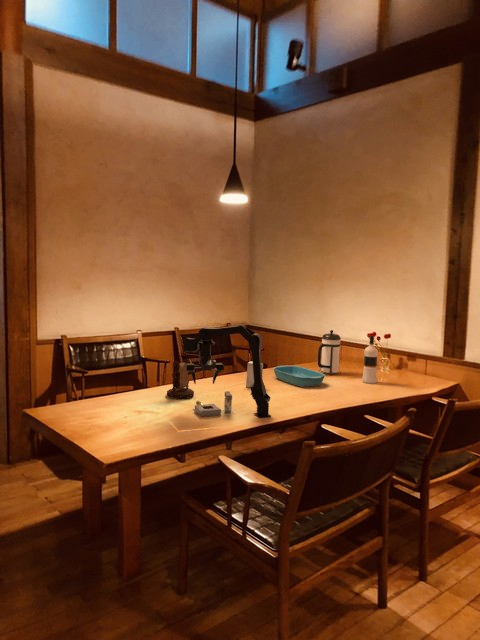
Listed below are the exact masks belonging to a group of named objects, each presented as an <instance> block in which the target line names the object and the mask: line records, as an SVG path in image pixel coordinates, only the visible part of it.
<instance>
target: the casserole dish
mask: <svg viewBox="0 0 480 640" xmlns="http://www.w3.org/2000/svg"><path fill="white" fill-rule="evenodd" d="M273 372H274V375H275V377H276V378H277V379H278V380H279V381H282V382H285V383H287V384H290V385H294V386H295V387H296V386H297V387H301V388H308V387H315V386H320V385H321V384H322V383H323V380H324V378H325V377H326V374H324V372H321V371H316V370H313V369H309V368H307V367H303V366H299V365H278V366H275V367H273ZM320 372H321V373H320Z"/></svg>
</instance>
